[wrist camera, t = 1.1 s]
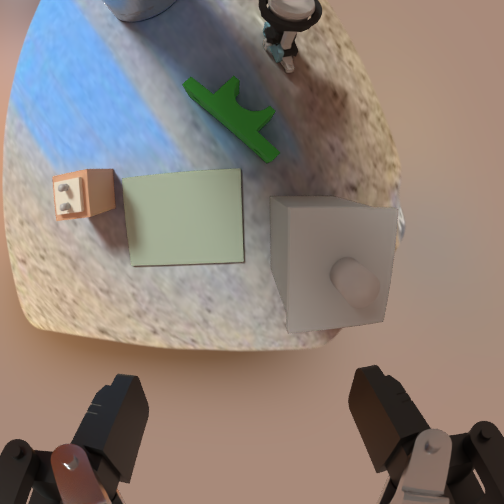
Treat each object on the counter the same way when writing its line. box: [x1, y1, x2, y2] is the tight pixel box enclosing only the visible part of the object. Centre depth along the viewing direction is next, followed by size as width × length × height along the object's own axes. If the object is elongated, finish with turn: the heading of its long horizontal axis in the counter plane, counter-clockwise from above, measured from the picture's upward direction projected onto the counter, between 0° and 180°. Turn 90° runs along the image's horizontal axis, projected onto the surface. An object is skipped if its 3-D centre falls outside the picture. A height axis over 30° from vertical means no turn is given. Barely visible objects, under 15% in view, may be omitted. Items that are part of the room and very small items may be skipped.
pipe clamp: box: [182, 76, 280, 163], centre depth 24 cm, size 11×4×5 cm, turn 47°
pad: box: [122, 169, 244, 266], centre depth 28 cm, size 10×13×1 cm
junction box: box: [270, 196, 398, 333], centre depth 22 cm, size 9×8×16 cm
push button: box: [259, 0, 322, 73], centre depth 19 cm, size 7×5×10 cm
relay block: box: [53, 169, 116, 221], centre depth 23 cm, size 4×4×8 cm
